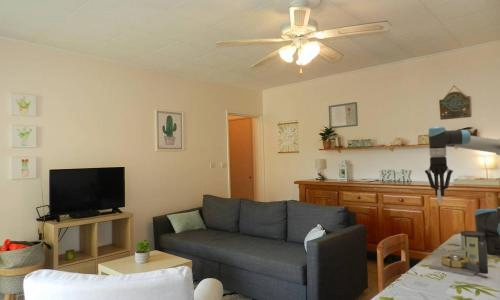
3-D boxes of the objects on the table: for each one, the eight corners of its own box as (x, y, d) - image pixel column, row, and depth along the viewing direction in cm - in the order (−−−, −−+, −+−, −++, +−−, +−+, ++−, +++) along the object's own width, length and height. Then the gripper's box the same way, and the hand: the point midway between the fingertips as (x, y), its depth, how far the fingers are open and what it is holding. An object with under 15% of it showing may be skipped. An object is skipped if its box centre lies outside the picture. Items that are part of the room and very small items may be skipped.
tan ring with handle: (436, 261, 165) (434, 234, 165) (454, 258, 168) (452, 232, 169) (477, 275, 144) (475, 244, 145) (497, 271, 148) (495, 241, 148)
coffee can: (480, 258, 173) (479, 230, 174) (490, 264, 163) (488, 235, 164) (458, 257, 175) (457, 230, 176) (467, 263, 165) (465, 235, 166)
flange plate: (440, 259, 174) (440, 248, 174) (487, 267, 159) (487, 255, 160) (429, 268, 161) (428, 256, 161) (478, 277, 147) (477, 264, 147)
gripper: (422, 157, 176) (424, 202, 176) (449, 156, 167) (452, 204, 166) (426, 156, 182) (429, 200, 181) (454, 156, 172) (456, 202, 172)
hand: (440, 202), depth 174 cm, fingers closed
